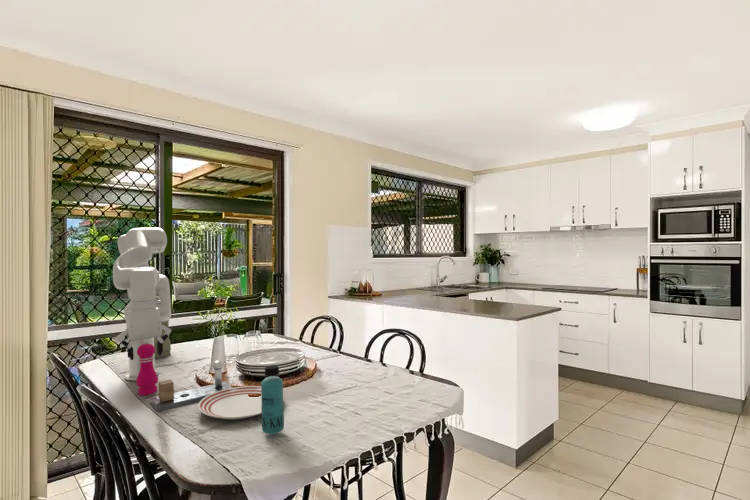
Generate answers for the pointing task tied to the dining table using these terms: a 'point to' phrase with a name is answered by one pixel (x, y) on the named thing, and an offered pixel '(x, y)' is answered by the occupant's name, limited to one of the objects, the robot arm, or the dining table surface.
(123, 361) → the dining table surface
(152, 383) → the pepper mill
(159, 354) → the robot arm
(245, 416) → the dinner plate
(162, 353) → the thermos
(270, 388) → the beverage bottle
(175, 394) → the plate
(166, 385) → the block
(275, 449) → the dining table surface
